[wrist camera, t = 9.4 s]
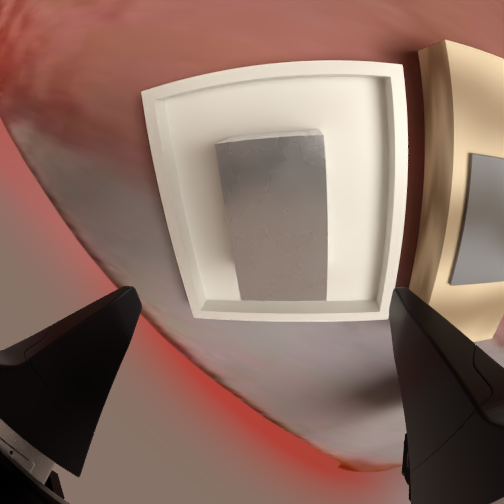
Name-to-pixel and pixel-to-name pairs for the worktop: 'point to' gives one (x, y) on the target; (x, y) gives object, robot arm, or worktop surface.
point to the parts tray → (337, 174)
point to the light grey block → (277, 213)
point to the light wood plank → (462, 188)
